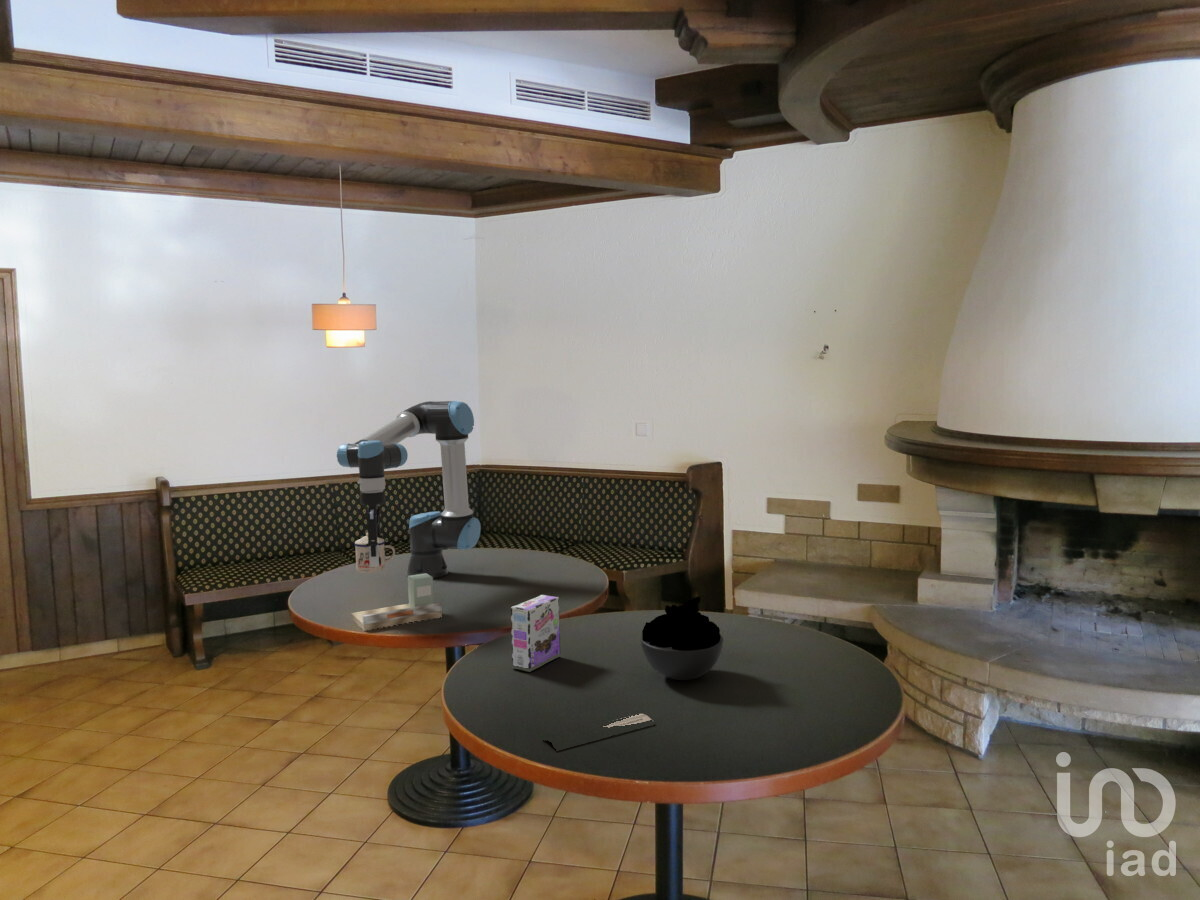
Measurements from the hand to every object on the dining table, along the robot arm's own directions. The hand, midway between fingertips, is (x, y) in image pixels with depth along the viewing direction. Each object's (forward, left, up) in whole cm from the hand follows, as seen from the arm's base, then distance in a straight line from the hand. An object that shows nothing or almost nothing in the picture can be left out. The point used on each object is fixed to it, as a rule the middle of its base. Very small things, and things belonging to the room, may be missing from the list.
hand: (375, 563), depth 261 cm
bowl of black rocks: (-47, +95, -17) cm, 107 cm away
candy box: (-22, +66, -17) cm, 72 cm away
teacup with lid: (0, 0, -2) cm, 2 cm away
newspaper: (-14, +110, -18) cm, 112 cm away
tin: (-12, +6, -15) cm, 20 cm away
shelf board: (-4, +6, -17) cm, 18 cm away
